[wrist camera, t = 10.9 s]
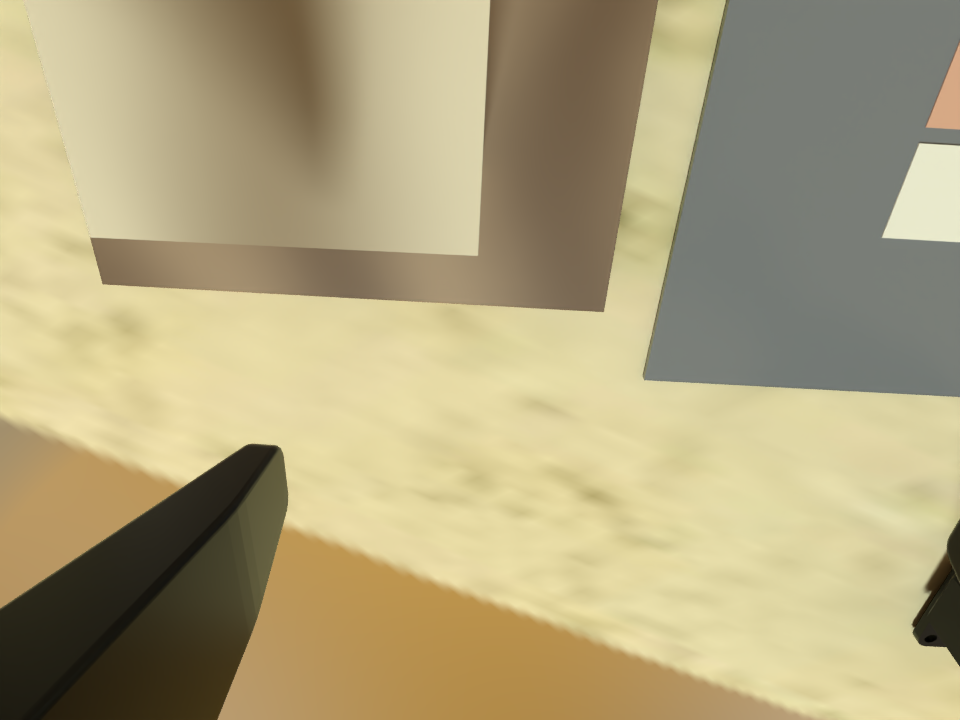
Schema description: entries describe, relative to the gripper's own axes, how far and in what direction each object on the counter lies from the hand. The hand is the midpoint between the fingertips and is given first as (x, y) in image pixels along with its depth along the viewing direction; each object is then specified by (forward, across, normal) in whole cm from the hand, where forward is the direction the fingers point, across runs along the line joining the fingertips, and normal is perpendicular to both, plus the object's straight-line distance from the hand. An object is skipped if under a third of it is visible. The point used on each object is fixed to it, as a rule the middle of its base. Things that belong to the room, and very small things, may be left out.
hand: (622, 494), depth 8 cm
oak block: (+10, +6, -5) cm, 12 cm away
